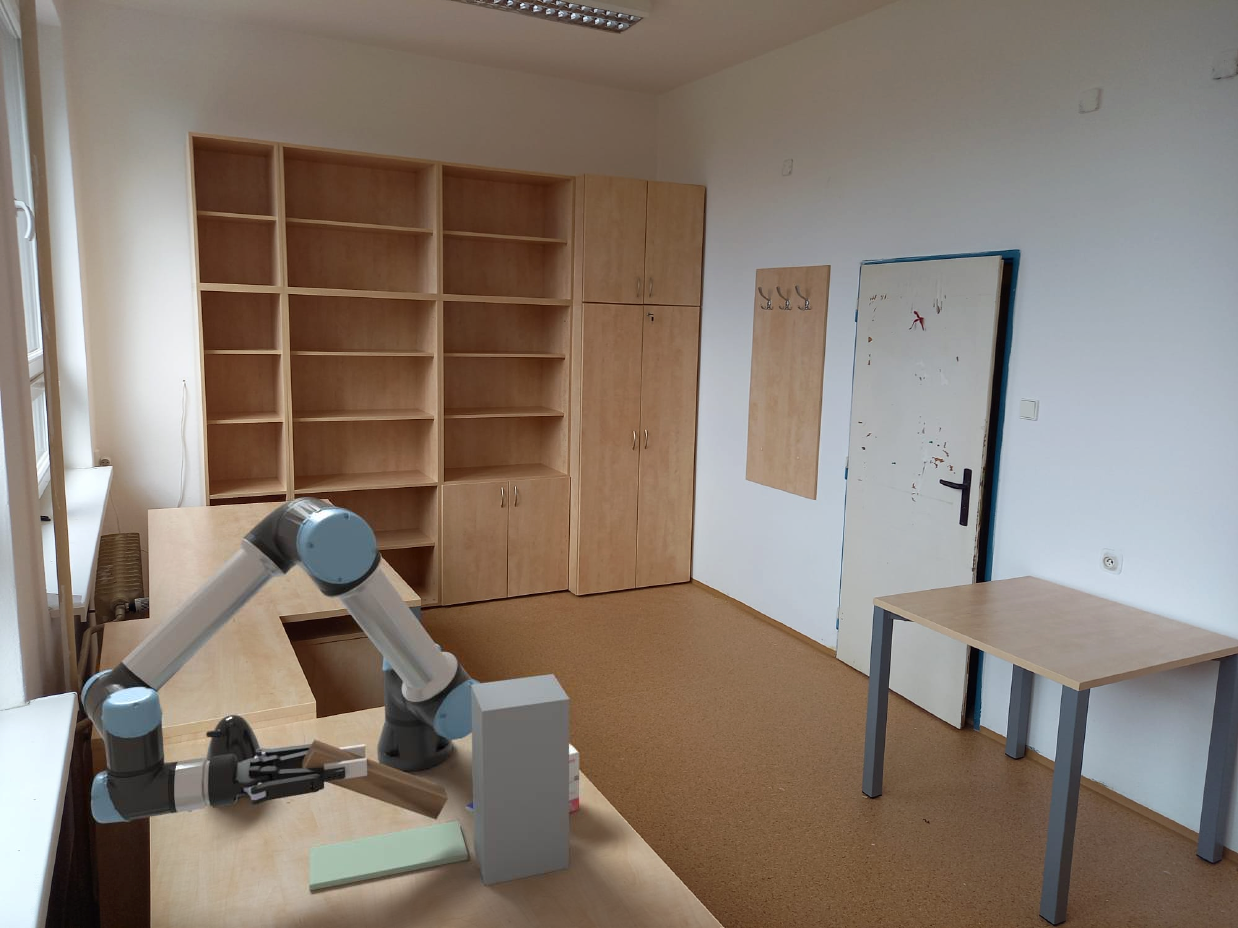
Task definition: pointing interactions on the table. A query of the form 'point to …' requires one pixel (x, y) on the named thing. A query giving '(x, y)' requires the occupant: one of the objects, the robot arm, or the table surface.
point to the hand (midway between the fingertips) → (365, 759)
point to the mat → (385, 854)
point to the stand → (520, 777)
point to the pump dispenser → (232, 739)
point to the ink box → (573, 779)
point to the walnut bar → (382, 782)
